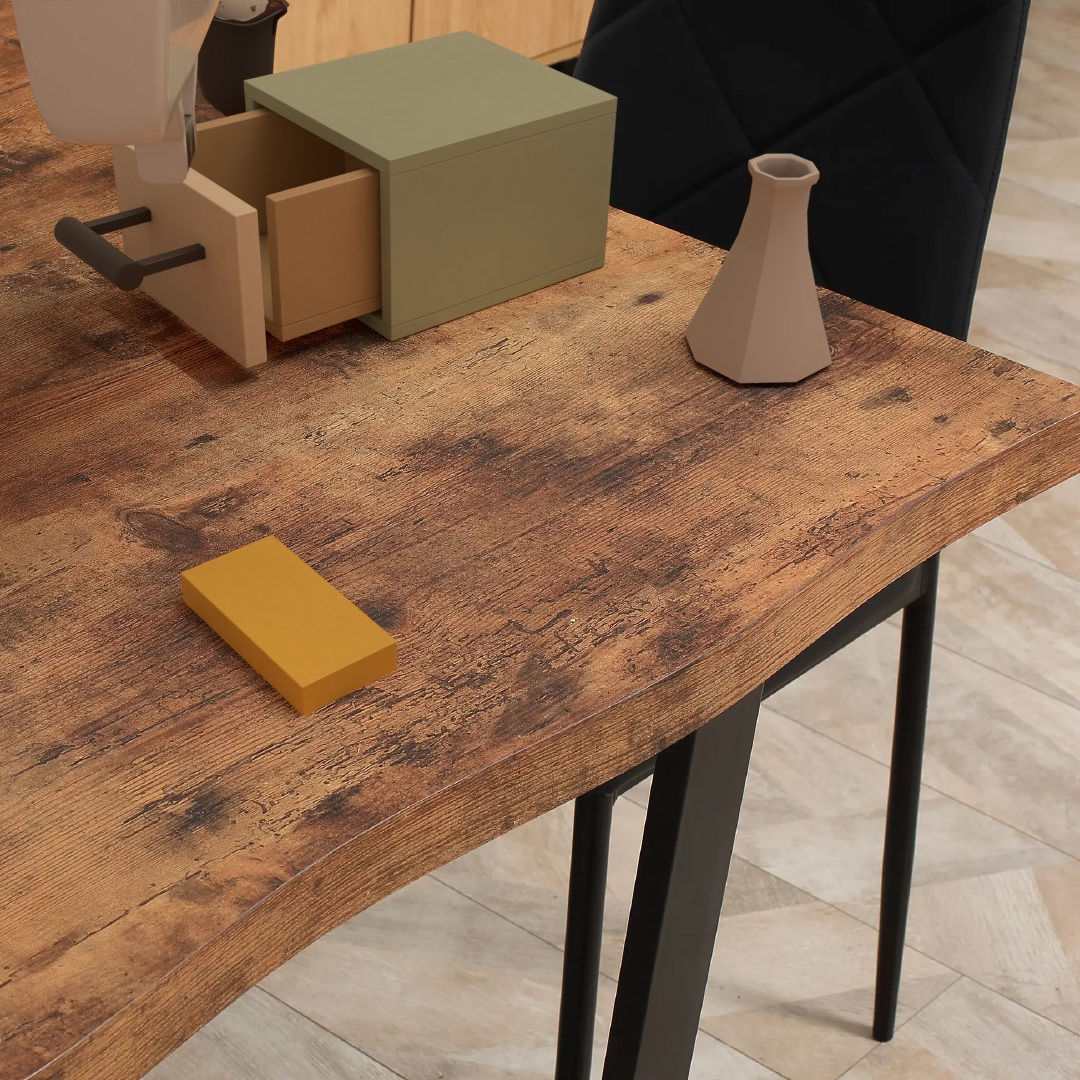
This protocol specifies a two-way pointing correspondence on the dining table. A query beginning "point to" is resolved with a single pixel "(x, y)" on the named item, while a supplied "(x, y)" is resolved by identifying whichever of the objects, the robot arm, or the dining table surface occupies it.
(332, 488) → the dining table surface
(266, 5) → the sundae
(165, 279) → the drawer
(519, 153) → the cabinet
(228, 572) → the yellow rectangular block
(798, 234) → the flask
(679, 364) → the dining table surface
